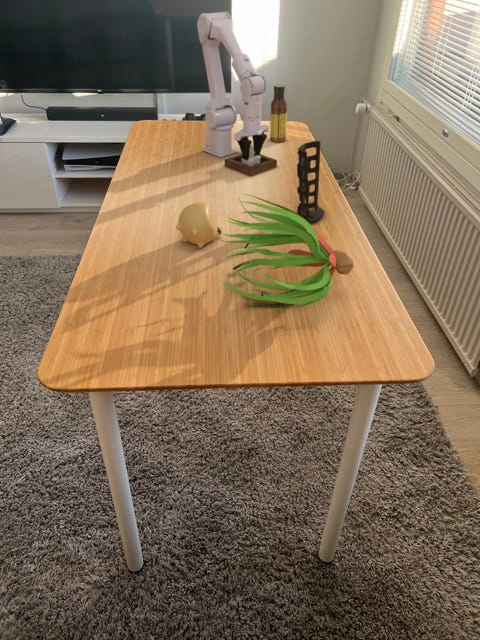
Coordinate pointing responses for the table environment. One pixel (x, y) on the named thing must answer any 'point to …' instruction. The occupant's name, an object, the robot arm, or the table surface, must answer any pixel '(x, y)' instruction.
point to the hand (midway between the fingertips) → (251, 157)
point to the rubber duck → (251, 158)
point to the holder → (308, 182)
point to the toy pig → (198, 224)
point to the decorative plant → (289, 256)
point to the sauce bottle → (278, 115)
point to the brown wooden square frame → (237, 165)
